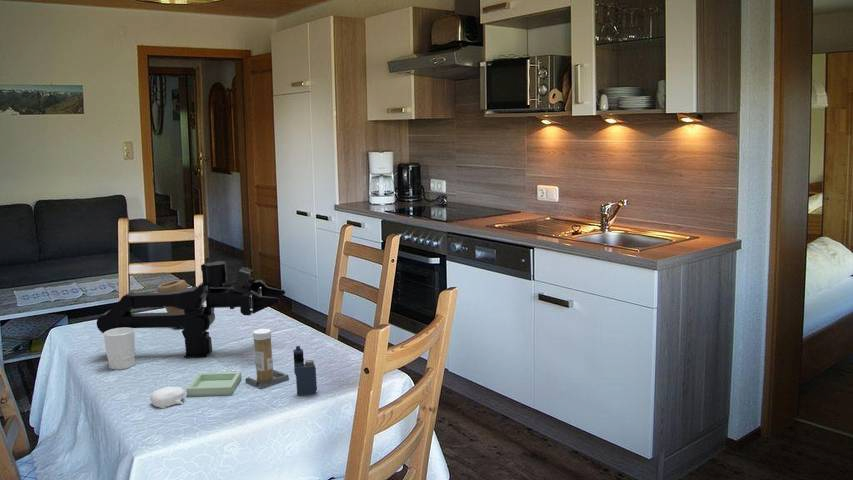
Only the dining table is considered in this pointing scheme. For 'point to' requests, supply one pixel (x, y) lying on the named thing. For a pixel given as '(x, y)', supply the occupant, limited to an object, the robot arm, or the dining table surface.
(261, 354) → the sprinkles bottle
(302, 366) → the vaping device
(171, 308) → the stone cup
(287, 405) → the dining table surface
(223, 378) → the tray
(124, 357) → the white cup
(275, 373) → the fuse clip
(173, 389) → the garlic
